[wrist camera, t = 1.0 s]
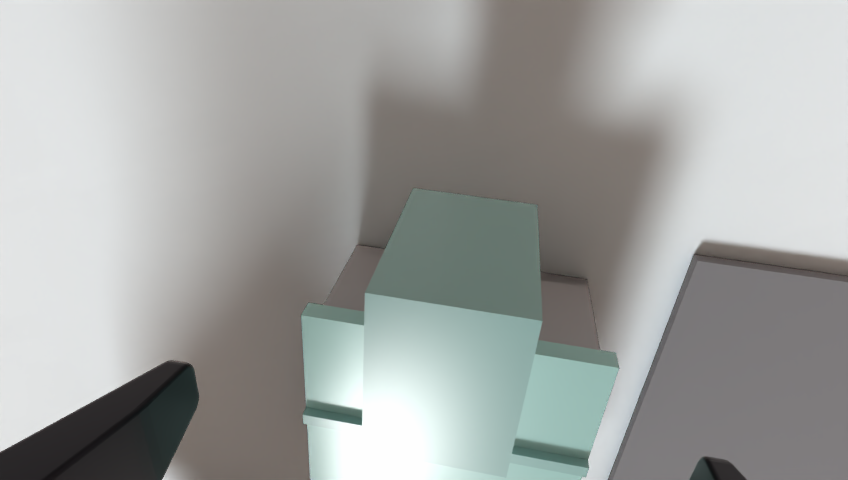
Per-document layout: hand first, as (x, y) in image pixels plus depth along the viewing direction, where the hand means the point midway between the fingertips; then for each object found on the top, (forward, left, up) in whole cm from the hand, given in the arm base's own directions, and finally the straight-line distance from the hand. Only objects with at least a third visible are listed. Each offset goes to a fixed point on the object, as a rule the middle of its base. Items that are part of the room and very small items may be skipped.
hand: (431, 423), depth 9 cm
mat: (-7, -12, -9) cm, 17 cm away
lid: (-6, 0, -6) cm, 8 cm away
